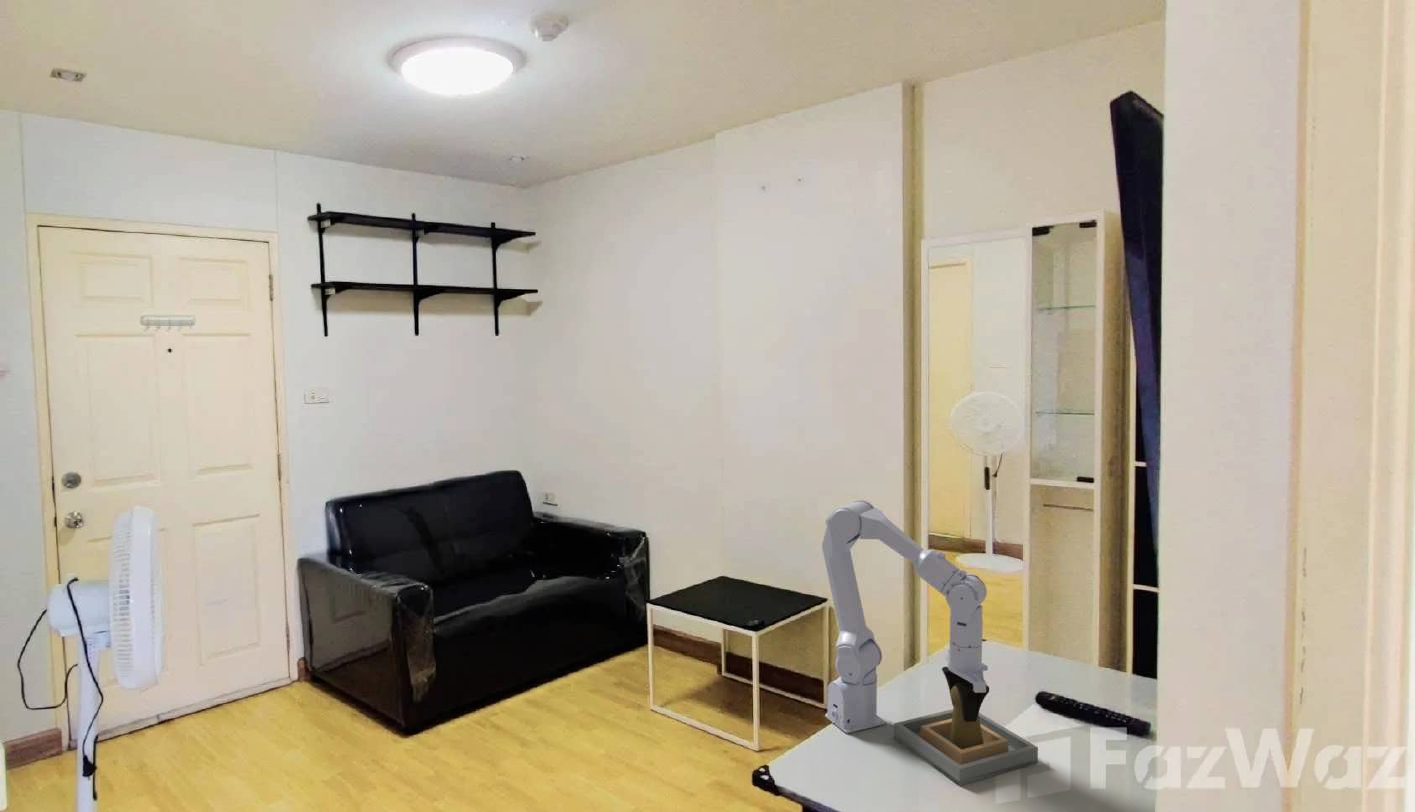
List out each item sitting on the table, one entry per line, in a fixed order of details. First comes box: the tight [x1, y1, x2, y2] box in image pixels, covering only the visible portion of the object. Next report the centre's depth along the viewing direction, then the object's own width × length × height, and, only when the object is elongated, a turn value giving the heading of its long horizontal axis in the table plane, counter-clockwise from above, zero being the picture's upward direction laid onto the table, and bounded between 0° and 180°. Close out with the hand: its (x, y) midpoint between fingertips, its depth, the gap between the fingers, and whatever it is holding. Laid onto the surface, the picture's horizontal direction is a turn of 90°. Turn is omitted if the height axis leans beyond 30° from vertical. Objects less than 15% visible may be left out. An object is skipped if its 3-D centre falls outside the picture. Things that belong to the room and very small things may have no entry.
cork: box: [949, 685, 984, 750], centre depth 145 cm, size 6×6×11 cm
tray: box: [893, 709, 1039, 787], centre depth 145 cm, size 18×18×3 cm
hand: (964, 713), depth 145 cm, fingers closed on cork, 5 cm apart
